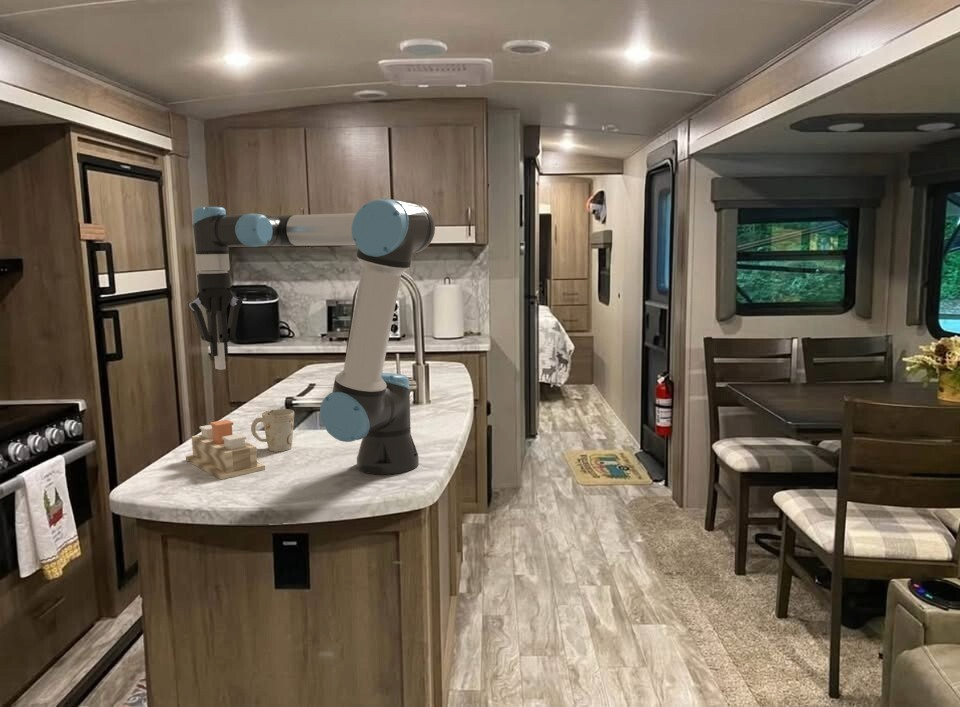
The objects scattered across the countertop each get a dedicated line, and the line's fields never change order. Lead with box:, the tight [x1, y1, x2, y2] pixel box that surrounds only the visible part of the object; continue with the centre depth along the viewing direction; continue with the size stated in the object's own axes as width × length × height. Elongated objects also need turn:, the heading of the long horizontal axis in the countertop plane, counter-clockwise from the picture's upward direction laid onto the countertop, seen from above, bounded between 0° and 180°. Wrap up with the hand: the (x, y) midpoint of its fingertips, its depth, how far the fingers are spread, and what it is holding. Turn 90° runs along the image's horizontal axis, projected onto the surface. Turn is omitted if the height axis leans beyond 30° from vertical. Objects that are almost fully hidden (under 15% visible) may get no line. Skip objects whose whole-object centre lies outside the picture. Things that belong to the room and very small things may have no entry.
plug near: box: [222, 433, 247, 450], centre depth 180 cm, size 4×4×7 cm
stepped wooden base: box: [185, 434, 266, 480], centre depth 186 cm, size 22×11×6 cm, turn 42°
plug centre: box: [209, 419, 234, 445], centre depth 185 cm, size 4×4×7 cm
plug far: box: [199, 424, 213, 439], centre depth 191 cm, size 4×4×7 cm
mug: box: [250, 408, 295, 453], centre depth 200 cm, size 8×13×10 cm, turn 78°
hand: (220, 368), depth 183 cm, fingers closed
